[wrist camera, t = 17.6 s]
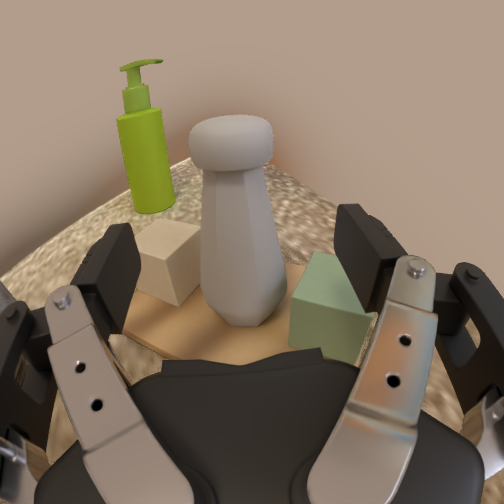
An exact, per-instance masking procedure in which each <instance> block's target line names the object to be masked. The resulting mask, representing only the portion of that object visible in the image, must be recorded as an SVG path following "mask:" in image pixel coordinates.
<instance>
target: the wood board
mask: <svg viewBox="0 0 504 504" xmlns="http://www.w3.org/2000/svg"><path fill="white" fill-rule="evenodd" d="M284 266H285V270H286V275H287V291H286V294H285V296H284V297H283V299H282V300H281V302H280V304H279V305H278V307H277V308H276V310H275V311H274V312H273V313H272V314H271V315H270V316H269V317H268V318H267V319H265V320H264V321H263V322H262V323H261V324H260V325H259V326H258V327H240V326H230V325H229V324H228V323H227V322H226V320H225V319H224V318H223V317H222V316H220V315H219V314H218V313H217V312H215V311H214V310H213V309H212V308H211V307H209V306H208V305H207V302H206V300H205V297H204V295H203V292H202V290H201V287H200V284H199V285H198V286H197V288H196V289H195V290H194V291H193V292H192V293H191V294H190V296H189V297H188V298H187V299H186V300H185V301H184V302H183V304H182V305H181V306H180V307H177V306H174V305H172V304H169V303H167V302H164V301H162V300H160V299H157V298H155V297H152V296H150V295H148V294H145V293H143V292H141V291H139V290H138V289H137V290H136V291H135V292H134V294H133V297H132V300H131V303H130V307H129V310H128V313H127V317H126V320H125V324H124V327H123V331H122V333H123V334H124V335H126V336H128V337H129V338H131V339H133V340H135V341H136V342H138V343H140V344H142V345H144V346H145V347H147V348H149V349H151V350H153V351H155V352H157V353H158V354H160V355H162V356H164V357H166V358H168V359H170V360H195V359H202V360H207V361H213V362H220V363H226V364H233V365H245V364H249V363H252V362H255V361H258V360H261V359H264V358H267V357H270V356H273V355H276V354H279V353H282V352H289V351H297V350H300V349H297V348H294V347H290V346H288V337H289V324H290V309H291V296H292V294H293V292H294V290H295V288H296V286H297V284H298V282H299V280H300V278H301V276H302V274H303V272H304V270H305V268H306V267H304V266H300V265H296V264H292V263H288V262H284ZM363 345H364V344H363ZM362 350H363V346H362V349H361V351H360V353H359V356H358V358H357V361H356V363H355V364H352V365H354V366H356V367H358V366H359V362H360V358H361V354H362ZM323 358H328V357H325V356H323ZM329 359H332V358H329ZM335 360H336V359H335ZM349 364H351V363H349Z"/></svg>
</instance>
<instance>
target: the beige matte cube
mask: <svg viewBox="0 0 504 504" xmlns="http://www.w3.org/2000/svg"><path fill="white" fill-rule="evenodd" d="M134 237H135V241H136V244H137V247H138V250H139V253H140V257H141V272H140V275H139V278H138V281H137V284H136V286H137V289H138V290H139V291H141V292H143V293H145V294H148V295H150V296H152V297H155V298H157V299H160V300H162V301H164V302H167V303H169V304H172V305H174V306H177V307H180V306H181V305H182V304H183V302H184V301H185V300H186V299H187V298H188V297H189V296H190V294H191V293H192V292H193V291H194V290H195V289H196V288H197V286H198V285H199V284H200V256H201V226H197V225H192V224H187V223H182V222H177V221H172V220H168V219H163V218H158V219H157V220H155V221H154V222H153V223H151V224H150V225H149V226H147V227H146V228H145V229H143V230H142V231H141V232H139V233H138V234H137V235H135V236H134Z"/></svg>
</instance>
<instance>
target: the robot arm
mask: <svg viewBox="0 0 504 504" xmlns="http://www.w3.org/2000/svg"><path fill="white" fill-rule="evenodd" d="M334 250H335V253H336V256H337V258H338V260H339V261H340V263H341V265H342V267H343V269H344V271H345V273H346V275H347V277H348V279H349V281H350V283H351V285H352V287H353V289H354V291H355V293H356V295H357V297H358V299H359V301H360V304H361V306H362V308H363V310H364V312H365V314H366V313H371V312H377V313H378V315H379V316H378V319H377V321H376V324H375V327H374V330H373V332H372V335H371V338H370V340H369V343H368V346H367V348H366V351H365V353H364V356H363V358H362V360H361V363H360V365H359V367H356V366H354V365H352V364H349V363H347V362H343V361H339V360H335V359H329V358H323V354H322V351H321V347H318V348H311V349H304V350H297V351H289V352H282V353H279V354H276V355H273V356H270V357H267V358H264V359H261V360H258V361H255V362H252V363H249V364H245V365H233V364H226V363H220V362H213V361H207V360H202V359H195V360H163V362H162V370H161V372H159V373H155V374H152V375H150V376H147V377H145V378H143V379H141V380H140V381H138V382H136V383H135V384H133V382H132V380H131V379H130V377H129V376H128V374H127V372H126V371H125V369H124V367H123V365H122V364H121V362H120V360H119V358H118V357H117V355H116V353H115V351H114V349H113V348H112V346H111V344H110V342H109V341H108V339H109V335H110V334H122V331H123V327H124V324H125V320H126V317H127V313H128V310H129V307H130V303H131V300H132V297H133V294H134V290H135V287H136V284H137V281H138V278H139V275H140V272H141V257H140V253H139V250H138V247H137V244H136V241H135V237H134V234H133V231H132V227H131V225H130V224H129V223H122V224H114V225H110V226H109V228H108V229H107V231H106V232H105V234H104V236H103V237H102V238H101V239H99V240H98V241H97V242H96V243H95V244H94V245H93V246H91V248H90V250H89V251H88V253H87V255H86V257H85V258H84V260H83V261H82V264H81V265H80V267H79V268H78V270H77V272H76V274H75V276H74V277H73V279H72V281H71V283H70V285H66V286H63V287H60V288H58V289H57V290H55V291H54V292H53V293H52V294H51V295H50V296H49V297H48V298H47V300H46V302H45V307H42V308H39V309H36V310H33V311H30V309H29V308H28V306H27V304H26V303H25V302H24V301H16V302H13V303H12V304H10V305H9V306H7V307H6V308H5V309H4V311H3V312H2V313H1V315H0V502H1V503H4V504H481V497H482V492H483V487H484V481H485V480H487V479H488V478H490V477H491V476H493V475H494V474H496V473H497V472H499V471H500V470H502V469H503V468H504V299H503V297H502V296H501V294H500V293H499V292H498V290H497V289H496V288H495V286H494V285H493V284H492V282H491V281H490V280H489V278H488V277H487V276H486V275H485V273H484V272H483V271H482V270H481V269H479V268H478V267H476V266H475V265H473V264H470V263H466V262H462V263H458V264H457V265H456V267H455V269H454V272H453V274H443V273H436V272H435V269H434V267H433V266H432V265H431V264H430V263H429V262H428V261H426V260H425V259H423V258H420V257H418V256H413V255H408V254H407V252H406V251H405V250H404V249H403V247H402V246H401V245H400V244H399V242H398V241H397V240H396V239H395V238H394V237H393V236H392V234H391V233H390V232H389V231H387V228H386V227H385V226H384V225H383V223H382V222H381V221H379V220H378V219H376V218H374V217H373V216H371V215H368V214H367V213H366V212H365V211H364V210H363V209H362V207H361V206H360V205H359V204H340V205H339V206H338V208H337V215H336V224H335V233H334ZM469 318H471V319H472V321H473V323H474V324H475V326H476V328H477V329H478V331H479V334H480V345H479V347H478V349H477V348H476V346H475V344H474V342H473V340H472V338H471V336H470V335H469V333H468V331H467V329H466V327H465V325H466V323H467V322H468V320H469ZM434 345H435V347H436V349H437V351H438V353H439V355H440V357H441V360H442V362H443V364H444V366H445V369H446V371H447V373H448V376H449V378H450V380H451V383H452V385H453V388H454V390H455V393H456V395H457V398H458V400H459V403H460V406H461V408H462V411H463V414H464V419H463V424H462V427H463V429H462V430H461V431H460V433H457V432H455V431H454V430H452V429H451V428H449V427H448V426H446V425H444V424H443V423H441V422H440V421H438V420H437V419H435V418H434V417H432V416H430V415H429V414H427V413H426V412H424V411H423V410H421V407H422V403H423V399H424V395H425V391H426V386H427V382H428V377H429V373H430V368H431V362H432V357H433V351H434ZM21 354H22V355H23V356H24V358H25V359H26V360H27V361H28V362H29V365H28V369H27V372H26V375H25V378H24V381H23V385H22V388H20V387H19V386H18V385H17V383H16V380H15V370H16V367H17V364H18V362H19V359H20V356H21ZM57 389H59V392H60V395H61V398H62V400H63V403H64V406H65V409H66V411H67V414H68V416H69V419H70V421H71V424H72V426H73V428H74V431H75V433H76V435H77V438H78V440H77V441H76V442H75V443H74V444H73V445H72V446H71V447H70V448H69V449H68V450H67V451H66V452H65V453H64V454H63V455H62V456H61V457H60V458H59V459H58V460H57V461H56V462H55V463H54V464H53V465H50V464H49V462H48V458H47V455H46V448H47V441H48V434H49V428H50V422H51V417H52V412H53V407H54V402H55V398H56V393H57Z"/></svg>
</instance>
